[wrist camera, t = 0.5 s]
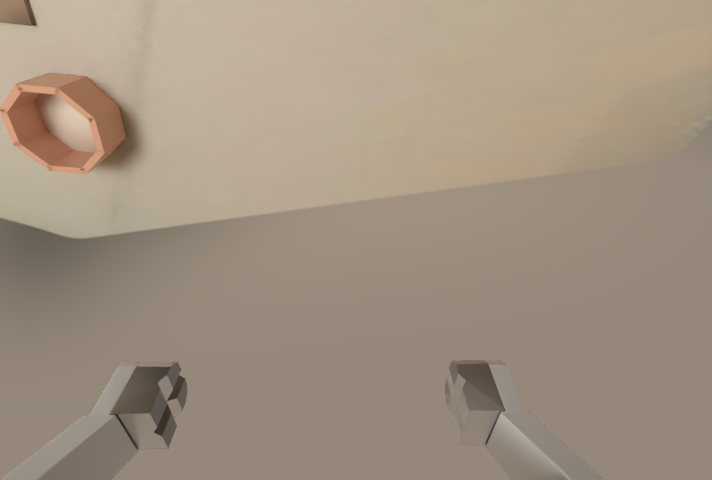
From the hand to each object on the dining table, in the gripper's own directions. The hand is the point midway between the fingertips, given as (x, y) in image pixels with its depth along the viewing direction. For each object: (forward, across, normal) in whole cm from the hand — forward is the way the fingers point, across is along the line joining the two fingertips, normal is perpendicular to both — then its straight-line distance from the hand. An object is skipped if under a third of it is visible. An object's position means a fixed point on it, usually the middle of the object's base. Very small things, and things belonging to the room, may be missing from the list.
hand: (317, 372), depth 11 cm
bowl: (+46, +36, +7) cm, 59 cm away
